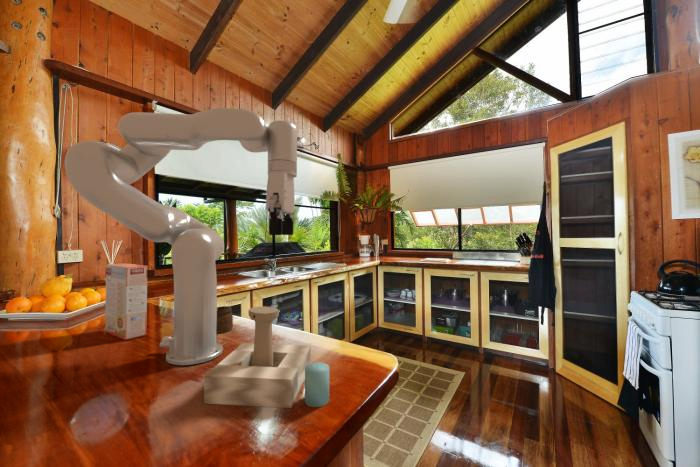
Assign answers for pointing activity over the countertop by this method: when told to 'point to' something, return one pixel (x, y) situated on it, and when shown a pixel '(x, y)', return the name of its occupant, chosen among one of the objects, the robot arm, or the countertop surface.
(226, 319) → the utensil holder
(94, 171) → the robot arm
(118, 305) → the cracker box
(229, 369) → the socket block
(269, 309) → the handle
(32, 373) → the countertop surface
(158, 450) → the countertop surface
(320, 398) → the short dowel
